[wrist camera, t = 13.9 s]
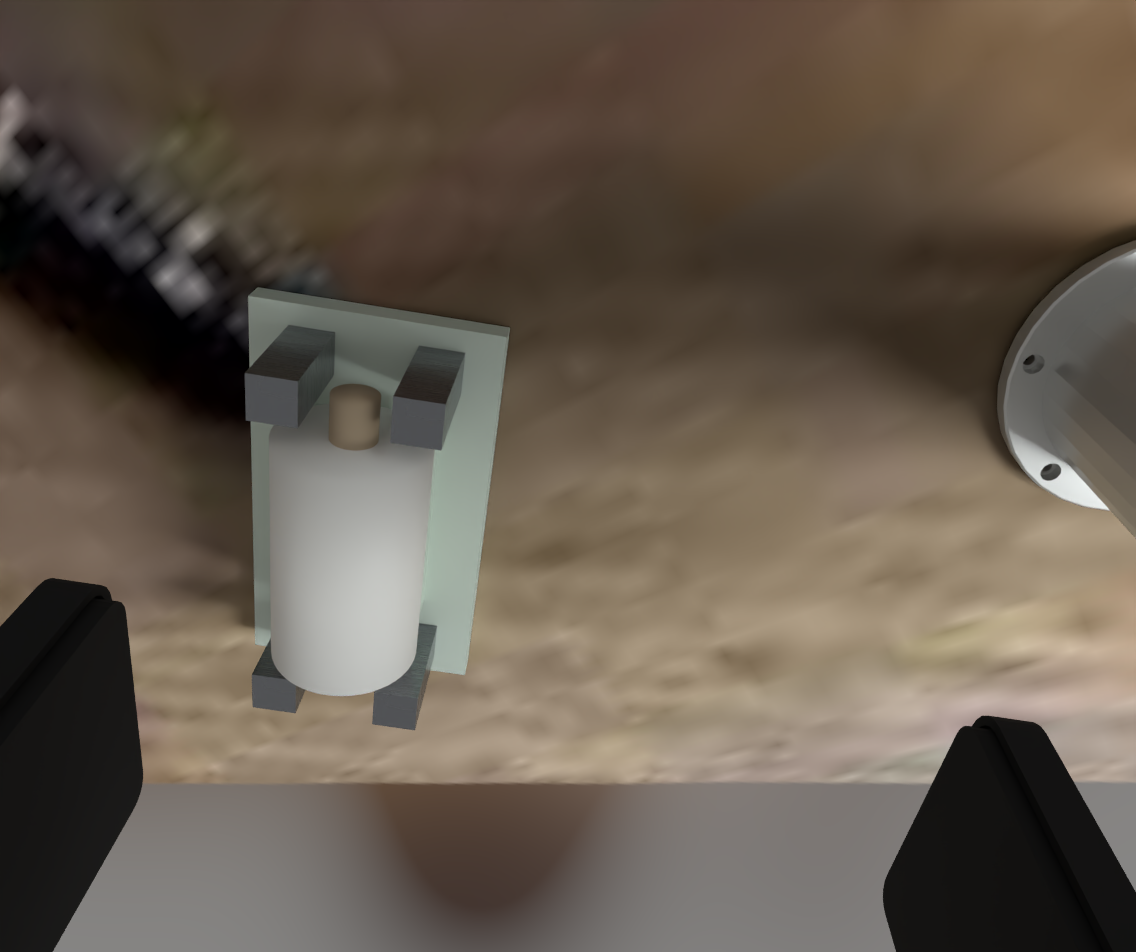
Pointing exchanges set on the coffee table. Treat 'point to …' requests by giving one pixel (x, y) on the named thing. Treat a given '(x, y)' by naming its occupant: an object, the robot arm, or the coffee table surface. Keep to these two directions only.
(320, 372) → the roll holder
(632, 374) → the coffee table surface
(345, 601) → the paper roll
